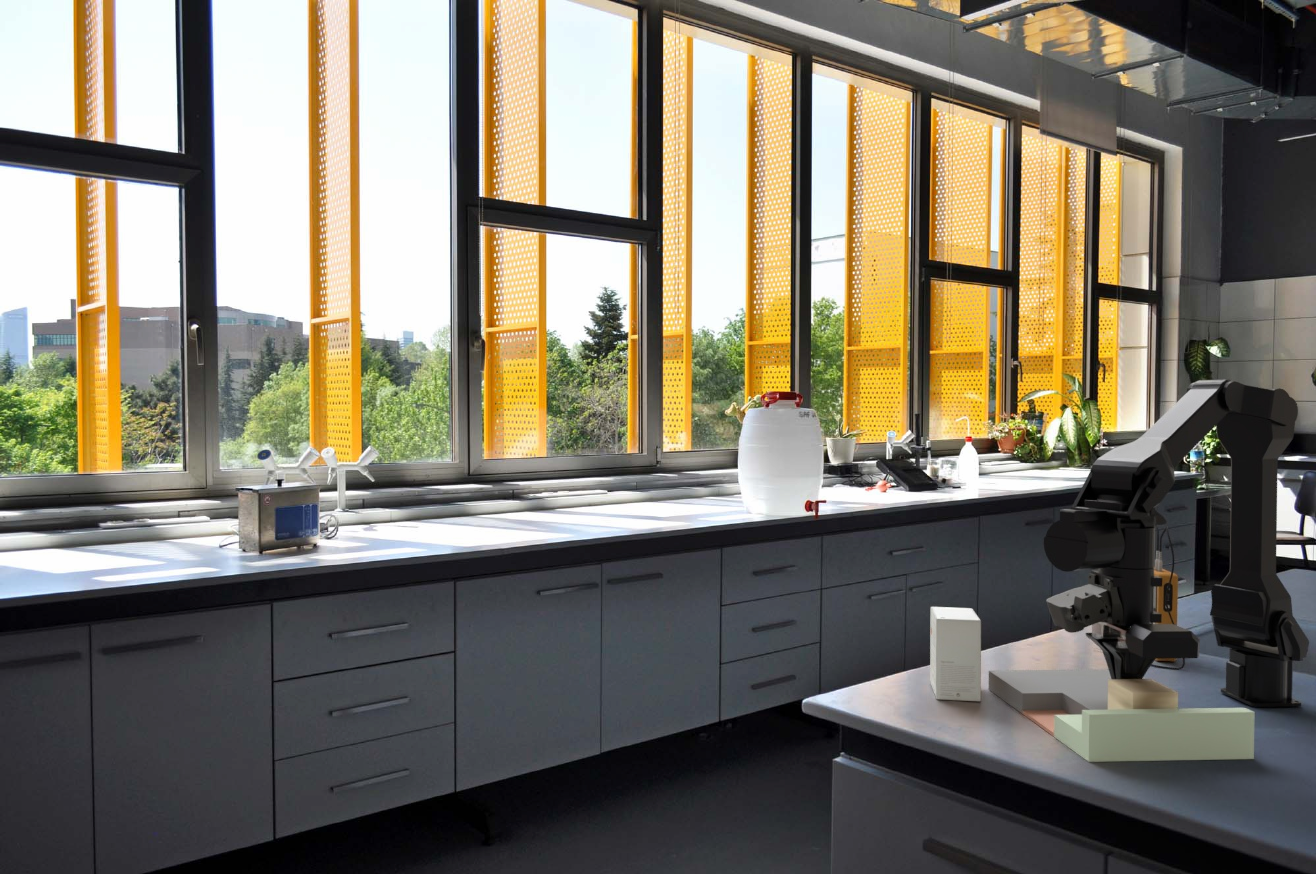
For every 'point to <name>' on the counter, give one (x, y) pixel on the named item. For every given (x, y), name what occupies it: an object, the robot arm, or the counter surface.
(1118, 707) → the birch block
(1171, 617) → the multimeter
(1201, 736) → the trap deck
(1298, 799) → the counter surface
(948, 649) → the small box
